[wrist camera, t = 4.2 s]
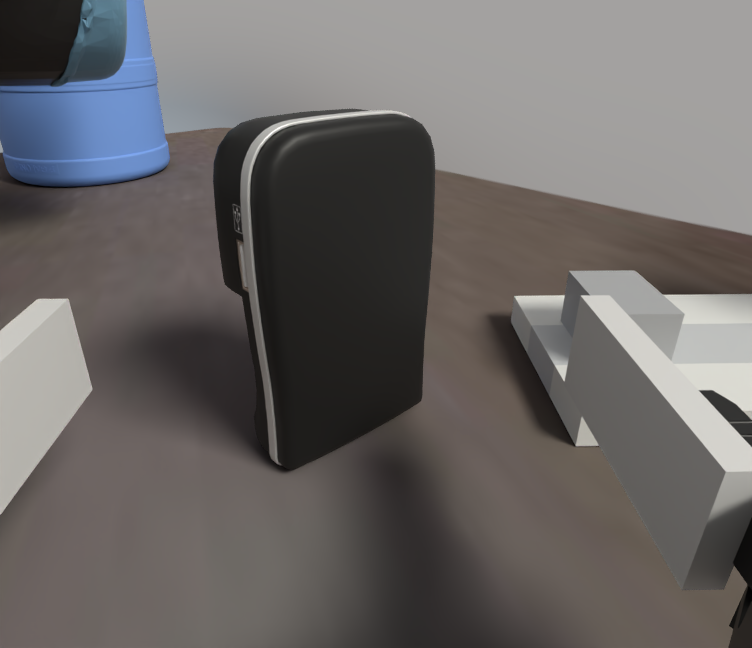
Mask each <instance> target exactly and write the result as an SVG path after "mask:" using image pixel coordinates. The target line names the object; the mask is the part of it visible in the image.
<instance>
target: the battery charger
mask: <svg viewBox="0 0 752 648" xmlns="http://www.w3.org/2000/svg"><path fill="white" fill-rule="evenodd" d="M213 184H214V197H215V210H216V221H217V231H218V241H219V249H220V257H221V264H222V271H223V278H224V282H225V285H226V286H227V287H228V288H230V289H231V290H232V291H234V292H235V293H237V294H239V295H240V296H242V299H243V305H244V312H245V318H246V324H247V330H248V336H249V342H250V348H251V354H252V359H253V364H254V370H255V378H256V387H257V405H256V412H255V416H254V420H255V429H256V434H257V437H258V440H259V441H260V443H261V444H262V446H263V448H264V449H265V450H267V451H268V452H269V454H270V457H271V459H272V460H273V461H274V462H275V463H276V464H279V465H282V466H284V467H285V468H287V469H291V470H293V469H296V468H298V467H300V466H302V465H305V464H307V463H309V462H311V461H313V460H315V459H317V458H319V457H321V456H323V455H325V454H327V453H329V452H331V451H333V450H335V449H337V448H339V447H341V446H343V445H345V444H347V443H349V442H351V441H353V440H355V439H356V438H358V437H360V436H362V435H364V434H366V433H368V432H369V431H371V430H373V429H375V428H376V427H378V426H380V425H382V424H384V423H385V422H387V421H389V420H391V419H393V418H394V417H396V416H398V415H399V414H401V413H403V412H404V411H406V410H408V409H409V408H411V407H413V406H414V405H416V404H417V403H419V402H420V401H421V399H422V384H423V358H424V338H425V325H426V315H427V305H428V294H429V282H430V270H431V258H432V242H433V224H434V197H435V156H434V149H433V145H432V142H431V137H430V136H429V134H428V133H427V131H426V129H425V128H424V127H423V125H422V124H420V123H419V122H417V121H416V120H414V119H413V118H411V117H410V116H408V115H406V114H404V113H401V112H396V111H390V110H375V111H368V110H359V109H341V110H325V111H310V112H299V113H292V114H284V115H277V116H269V117H262V118H256V119H253V120H249V121H246V122H243V123H240V124H239V125H237V126H236V127H235V128H233V129H232V130H230V131H229V132H228V133H227V135H226V136H225V137H224V139H223V140H222V142H221V143H220V145H219V146H218V149H217V153H216V157H215V160H214V175H213Z"/></svg>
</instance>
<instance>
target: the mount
mask: <svg viewBox="0 0 752 648" xmlns="http://www.w3.org/2000/svg"><path fill="white" fill-rule="evenodd" d="M581 295H610V296H611V297H612V298H613V299H614V300H615V302H616V303H617V304H618V305H619V306H620V307H621V308H622V309H623V310H624V311H625V312H626V313H627V314H628V315H629V317H630V318H631V319H632V320H633V321H634V322H635V323H636V324H637V325H638V326H639V327H640V328H641V329H642V330H643V331H644V333H645V334H646V335H647V336H648V337H649V338H650V339H651V340H652V341H653V342H654V343H655V344H656V345H657V346H658V348H659V349H660V350H661V351H662V352H663V353H664V354H665V355H666V356H667V357H668V358H669V359H670V360H671V361H672V363H673V364H674V365H675V366H676V367H677V368H678V369H679V370H680V371H681V372H682V373H683V374H684V375H685V376H686V378H687V379H688V380H689V381H690V382H691V383H692V384H693V385H694V386H695V387H696V388H697V389H698V390H713V391H715V392H716V393H718V394H720V395H722V396H723V397H725V398H727V399H728V400H730V401H732V402H733V403H735V404H736V405H737V406H738V407H739V408H740V409H741V410H742V411H743V412H744V413H745V414H746V415H747V416H748V417H749V418H750V419H751V420H752V294H704V295H662V294H661V293H660V292H659V291H658V290H657V289H656V288H654V287H653V286H652V285H651V284H650V283H649V282H648V281H646V280H645V279H644V278H643V277H642V276H641V275H640V274H638V273H637V272H636V271H569V274H568V280H567V286H566V291H565V296H514V301H513V309H512V317H511V323H512V325H513V327H514V329H515V331H516V333H517V335H518V337H519V339H520V341H521V343H522V345H523V346H524V348H525V350H526V352H527V354H528V356H529V358H530V360H531V362H532V364H533V366H534V368H535V369H536V371H537V373H538V375H539V377H540V379H541V381H542V383H543V385H544V387H545V389H546V391H547V392H548V394H549V396H550V398H551V400H552V402H553V404H554V406H555V408H556V410H557V412H558V414H559V415H560V417H561V419H562V421H563V423H564V425H565V427H566V429H567V431H568V433H569V435H570V437H571V438H572V440H573V442H574V444H575V446H599V445H598V443H597V441H596V440H595V438H594V436H593V434H592V433H591V431H590V429H589V427H588V426H587V424H586V422H585V420H584V419H583V417H582V415H581V413H580V412H579V410H578V408H577V407H576V405H575V403H574V401H573V400H572V398H571V396H570V394H569V393H568V391H567V389H566V387H565V386H564V381H565V376H566V371H567V365H568V360H569V355H570V349H571V344H572V338H573V333H574V328H575V322H576V317H577V312H578V306H579V301H580V296H581Z"/></svg>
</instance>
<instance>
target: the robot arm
mask: <svg viewBox="0 0 752 648" xmlns="http://www.w3.org/2000/svg"><path fill="white" fill-rule="evenodd" d="M126 44H127V2H126V0H0V86H44V85H49V86H52V87H59V86H62V85H64V84H66V83H70V82H82V81H94V80H103V79H107V78H109V77H111V76H113V75H114V74H116V73H117V71H118V70H119V69H120V67H121V66H122V64H123V61H124V58H125V53H126ZM564 386H565V387H566V389H567V391H568V393H569V394H570V396H571V398H572V400H573V401H574V403H575V405H576V407H577V408H578V410H579V412H580V413H581V415H582V417H583V419H584V420H585V422H586V424H587V426H588V427H589V429H590V431H591V433H592V434H593V436H594V438H595V440H596V441H597V443H598V445H599V447H600V448H601V450H602V452H603V454H604V455H605V457H606V459H607V461H608V462H609V464H610V466H611V468H612V469H613V471H614V473H615V475H616V476H617V478H618V480H619V482H620V483H621V485H622V487H623V489H624V490H625V492H626V494H627V495H628V497H629V499H630V501H631V502H632V504H633V506H634V508H635V509H636V511H637V513H638V515H639V516H640V518H641V520H642V522H643V523H644V525H645V527H646V529H647V530H648V532H649V534H650V536H651V537H652V539H653V541H654V543H655V544H656V546H657V548H658V550H659V551H660V553H661V555H662V557H663V558H664V560H665V562H666V564H667V565H668V567H669V569H670V571H671V572H672V574H673V576H674V577H675V579H676V581H677V583H678V584H679V586H680V588H681V590H716V589H724V588H725V586H726V583H727V581H728V578H729V576H730V574H731V571H732V569H733V567H734V566H735V567H736V568H737V570H738V571H739V573H740V574H741V576H742V577H743V578H744V580H745V581H746V583H747V584H748V585H747V587H746V589H745V592H744V594H743V596H742V598H741V601H740V603H739V605H738V607H737V610H736V612H735V614H734V616H733V618H732V621H731V623H730V625H729V626H730V627H731V628H733V633H732V636H731V640H730V644H729V648H752V420H751V419H750V418H749V417H748V416H747V415H746V414H745V413H744V412H743V411H742V410H741V409H740V408H739V407H738V406H737V405H736V404H735V403H733V402H732V401H730V400H728V399H727V398H725V397H723V396H722V395H720V394H718V393H716V392H715V391H713V390H698V389H697V388H696V387H695V386H694V385H693V384H692V383H691V382H690V381H689V380H688V379H687V378H686V376H685V375H684V374H683V373H682V372H681V371H680V370H679V369H678V368H677V367H676V366H675V365H674V364H673V363H672V361H671V360H670V359H669V358H668V357H667V356H666V355H665V354H664V353H663V352H662V351H661V350H660V349H659V348H658V346H657V345H656V344H655V343H654V342H653V341H652V340H651V339H650V338H649V337H648V336H647V335H646V334H645V333H644V331H643V330H642V329H641V328H640V327H639V326H638V325H637V324H636V323H635V322H634V321H633V320H632V319H631V318H630V317H629V315H628V314H627V313H626V312H625V311H624V310H623V309H622V308H621V307H620V306H619V305H618V304H617V303H616V302H615V300H614V299H613V298H612V297H611V296H610V295H581V296H580V301H579V306H578V312H577V317H576V322H575V328H574V333H573V338H572V344H571V349H570V355H569V360H568V365H567V371H566V376H565V381H564ZM92 390H93V389H92V386H91V382H90V378H89V374H88V371H87V367H86V363H85V359H84V356H83V352H82V348H81V344H80V341H79V337H78V333H77V329H76V326H75V322H74V318H73V314H72V311H71V307H70V303H69V300H68V299H37V300H36V301H35V302H34V303H32V304H31V305H30V306H29V307H28V308H26V309H25V310H24V311H23V312H22V313H21V314H19V315H18V316H17V317H16V318H15V319H13V320H12V321H11V322H10V323H9V324H8V325H6V326H5V327H4V328H3V329H2V330H0V515H1V513H2V512H3V511H4V509H5V508H6V506H7V505H8V504H9V502H10V501H11V500H12V498H13V497H14V496H15V494H16V493H17V492H18V490H19V489H20V487H21V486H22V485H23V483H24V482H25V481H26V479H27V478H28V477H29V475H30V474H31V473H32V471H33V470H34V468H35V467H36V466H37V464H38V463H39V462H40V460H41V459H42V458H43V456H44V455H45V453H46V452H47V451H48V449H49V448H50V447H51V445H52V444H53V443H54V441H55V440H56V439H57V437H58V436H59V434H60V433H61V432H62V430H63V429H64V428H65V426H66V425H67V424H68V422H69V421H70V419H71V418H72V417H73V415H74V414H75V413H76V411H77V410H78V409H79V407H80V406H81V405H82V403H83V402H84V400H85V399H86V398H87V396H88V395H89V394H90V392H91V391H92Z"/></svg>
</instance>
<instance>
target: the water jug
mask: <svg viewBox="0 0 752 648" xmlns="http://www.w3.org/2000/svg"><path fill="white" fill-rule="evenodd" d="M126 2H127V44H126V53H125V58H124V61H123V64H122V66H121V67H120V69H119V70H118V71H117V73H116V74H114V75H113V76H111V77H109V78H107V79H103V80H94V81H82V82H70V83H66V84H64V85H62V86H59V87H52V86H49V85H44V86H0V141H1V144H2V147H3V157H4V161H5V164H6V168H7V171H8V172H9V174H10V175H11V176H12V177H13V178H15V179H17V180H19V181H21V182H24V183H28V184H32V185H39V186H53V187H76V186H93V185H103V184H112V183H118V182H124V181H130V180H135V179H139V178H143V177H146V176H149V175H152V174H155V173H157V172H159V171H161V170H163V169H164V168H165V167H166V166H167V165H168V163H169V160H170V155H169V149H168V143H167V141H166V139H165V133H164V126H163V120H162V114H161V108H160V102H159V95H158V88H157V72H156V66H155V62H154V58H153V56H152V51H151V44H150V38H149V32H148V25H147V20H146V13H145V7H144V0H126Z"/></svg>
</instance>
